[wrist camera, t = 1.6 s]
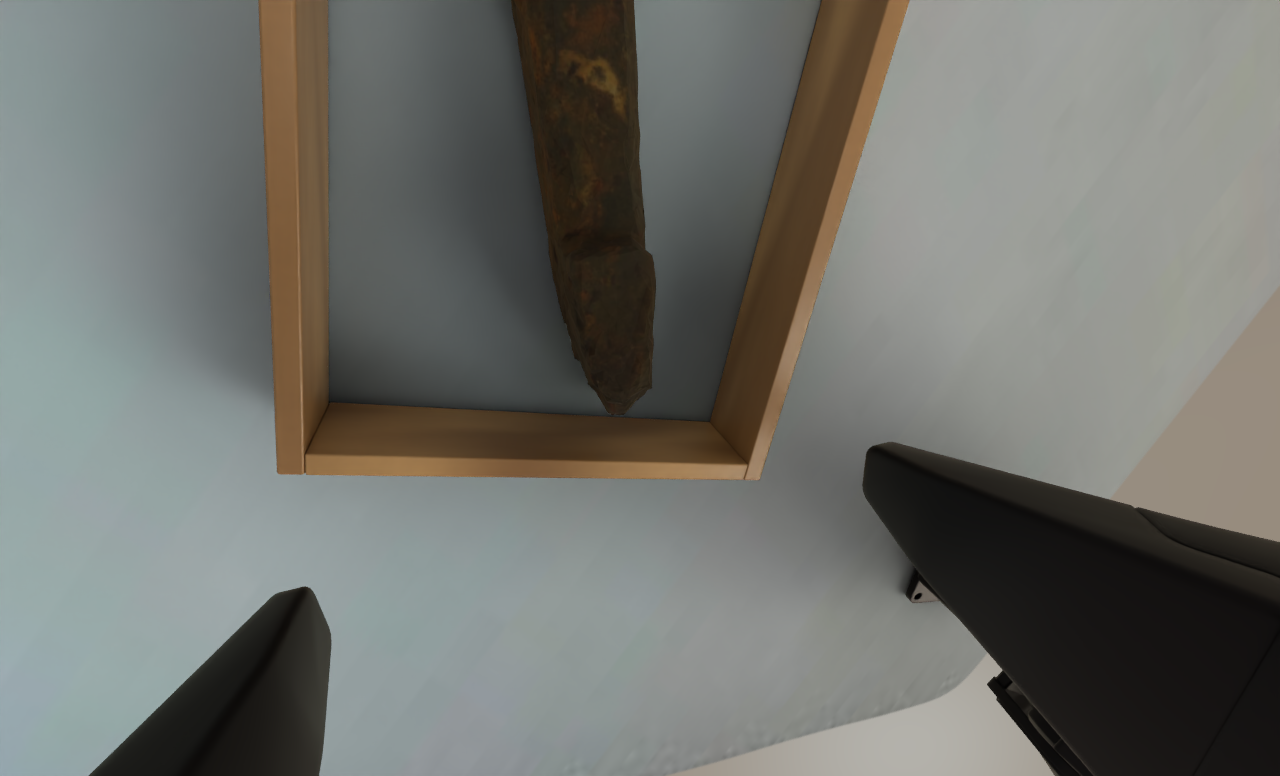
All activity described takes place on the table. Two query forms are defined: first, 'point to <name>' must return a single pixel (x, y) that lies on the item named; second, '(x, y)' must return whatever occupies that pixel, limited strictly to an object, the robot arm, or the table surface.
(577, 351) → the dark brown long piece
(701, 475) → the wooden rectangular frame
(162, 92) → the table surface
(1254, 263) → the table surface
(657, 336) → the table surface
